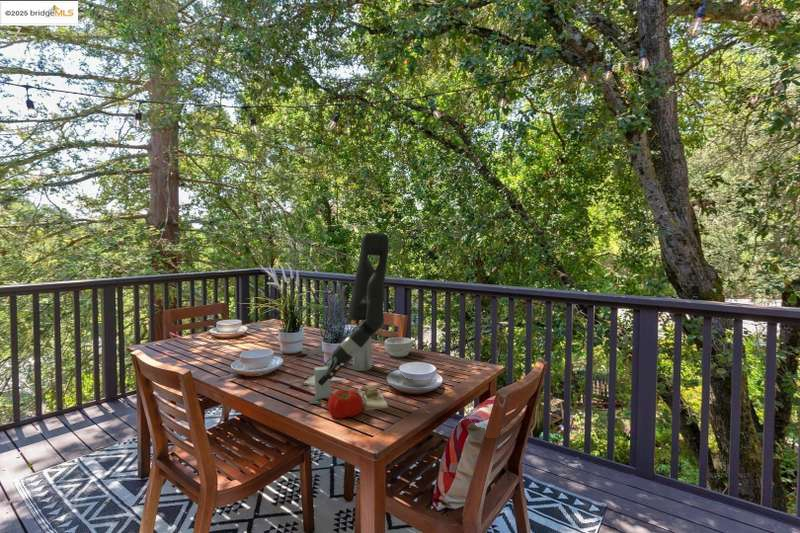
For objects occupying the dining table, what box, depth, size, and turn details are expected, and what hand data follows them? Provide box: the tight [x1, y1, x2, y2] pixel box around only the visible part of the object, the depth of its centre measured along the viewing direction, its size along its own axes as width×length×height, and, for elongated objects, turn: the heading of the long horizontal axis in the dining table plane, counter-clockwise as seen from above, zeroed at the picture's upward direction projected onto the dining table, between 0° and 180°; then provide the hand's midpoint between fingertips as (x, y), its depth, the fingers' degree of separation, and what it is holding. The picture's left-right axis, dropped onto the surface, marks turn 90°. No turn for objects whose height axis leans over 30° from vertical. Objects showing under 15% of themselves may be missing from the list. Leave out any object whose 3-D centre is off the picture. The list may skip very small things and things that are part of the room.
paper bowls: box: [384, 337, 414, 358], centre depth 226 cm, size 15×15×8 cm
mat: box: [308, 395, 322, 406], centre depth 168 cm, size 12×8×1 cm, turn 173°
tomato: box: [327, 389, 363, 420], centre depth 152 cm, size 14×13×9 cm
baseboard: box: [302, 372, 345, 385], centre depth 183 cm, size 31×3×12 cm
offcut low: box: [363, 390, 377, 398], centre depth 169 cm, size 6×4×2 cm
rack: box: [357, 387, 390, 411], centre depth 165 cm, size 18×9×2 cm, turn 13°
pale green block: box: [314, 366, 332, 400], centre depth 168 cm, size 4×6×12 cm, turn 103°
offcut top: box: [363, 384, 378, 394], centre depth 169 cm, size 5×4×2 cm
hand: (319, 380), depth 167 cm, fingers open, 8 cm apart
